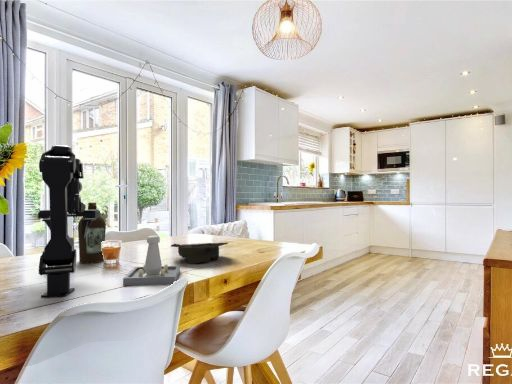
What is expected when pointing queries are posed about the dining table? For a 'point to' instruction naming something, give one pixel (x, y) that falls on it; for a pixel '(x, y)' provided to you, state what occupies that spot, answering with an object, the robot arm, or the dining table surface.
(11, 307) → the dining table surface
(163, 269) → the pin tray
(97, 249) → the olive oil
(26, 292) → the dining table surface
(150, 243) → the salt shaker
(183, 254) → the stone bowl
